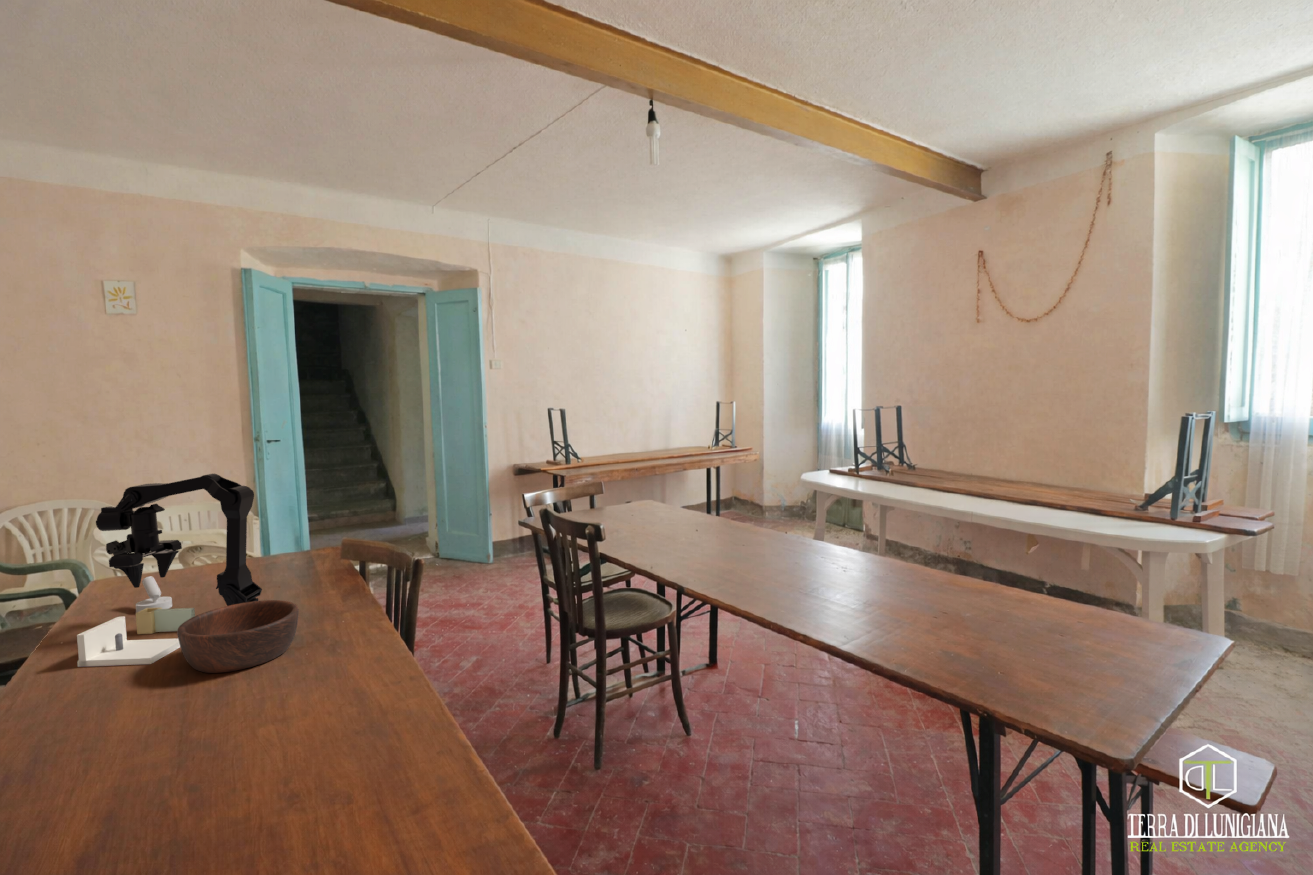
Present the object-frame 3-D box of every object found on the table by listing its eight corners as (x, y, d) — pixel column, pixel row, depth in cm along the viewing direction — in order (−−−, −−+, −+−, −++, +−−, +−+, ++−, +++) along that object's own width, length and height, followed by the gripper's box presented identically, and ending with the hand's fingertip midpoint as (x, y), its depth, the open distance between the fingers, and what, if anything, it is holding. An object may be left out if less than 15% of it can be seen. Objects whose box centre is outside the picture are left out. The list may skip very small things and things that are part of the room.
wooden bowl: (240, 683, 134) (237, 640, 134) (152, 674, 139) (149, 632, 139) (322, 639, 159) (320, 602, 158) (245, 632, 164) (243, 596, 163)
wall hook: (164, 572, 189) (173, 578, 183) (166, 601, 190) (175, 607, 184) (129, 579, 183) (137, 585, 177) (131, 609, 183) (140, 616, 177)
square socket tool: (198, 626, 168) (197, 606, 168) (188, 632, 164) (187, 611, 164) (148, 628, 167) (147, 607, 167) (137, 634, 163) (135, 613, 163)
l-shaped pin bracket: (186, 643, 157) (184, 614, 156) (150, 663, 145) (148, 632, 144) (119, 645, 156) (117, 616, 155) (77, 666, 144) (75, 635, 143)
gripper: (141, 522, 176) (147, 573, 177) (84, 538, 157) (91, 594, 158) (180, 521, 176) (185, 571, 178) (128, 536, 158) (134, 592, 159)
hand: (150, 582), depth 168 cm, fingers open, 9 cm apart
